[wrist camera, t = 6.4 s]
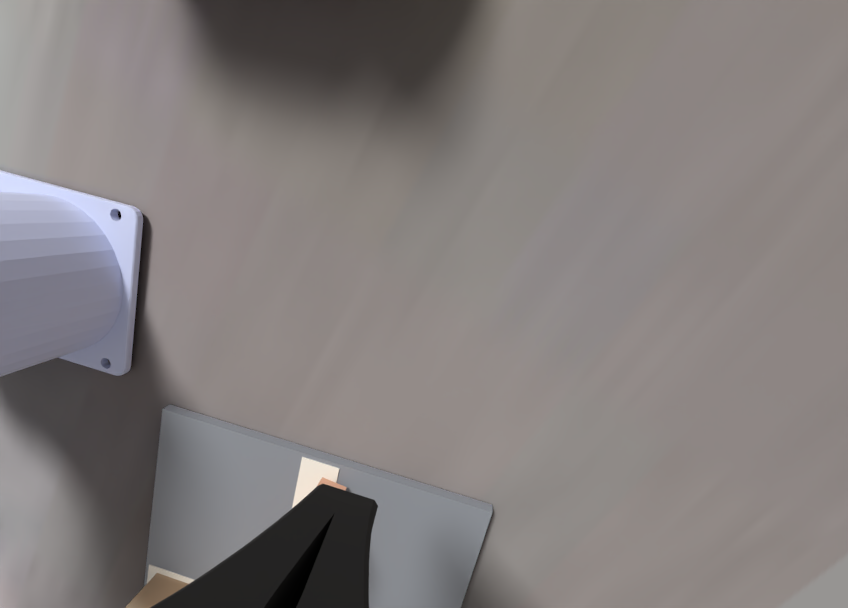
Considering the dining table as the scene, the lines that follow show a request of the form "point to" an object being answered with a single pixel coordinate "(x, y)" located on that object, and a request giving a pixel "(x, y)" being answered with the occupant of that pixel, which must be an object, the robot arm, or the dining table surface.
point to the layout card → (282, 490)
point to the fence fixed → (156, 591)
